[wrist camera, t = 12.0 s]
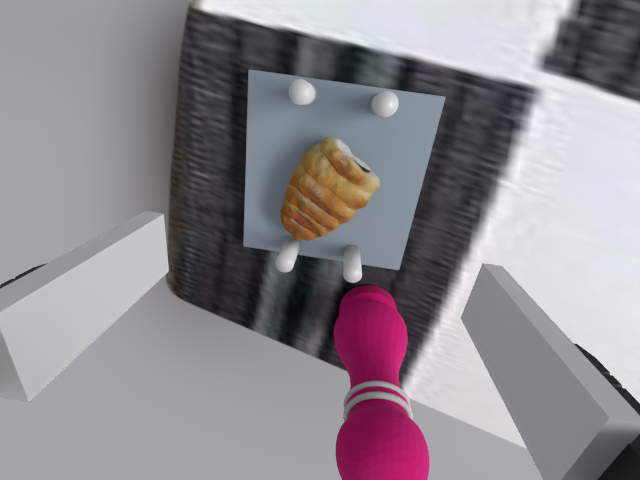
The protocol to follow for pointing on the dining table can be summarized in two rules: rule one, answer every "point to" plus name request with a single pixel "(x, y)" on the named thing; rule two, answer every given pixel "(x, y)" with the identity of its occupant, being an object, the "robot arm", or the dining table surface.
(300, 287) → the dining table surface
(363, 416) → the pepper mill
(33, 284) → the robot arm
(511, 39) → the dining table surface
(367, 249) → the tray
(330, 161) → the pastry
